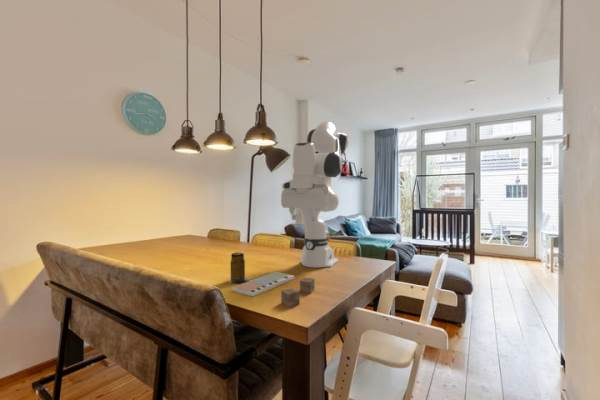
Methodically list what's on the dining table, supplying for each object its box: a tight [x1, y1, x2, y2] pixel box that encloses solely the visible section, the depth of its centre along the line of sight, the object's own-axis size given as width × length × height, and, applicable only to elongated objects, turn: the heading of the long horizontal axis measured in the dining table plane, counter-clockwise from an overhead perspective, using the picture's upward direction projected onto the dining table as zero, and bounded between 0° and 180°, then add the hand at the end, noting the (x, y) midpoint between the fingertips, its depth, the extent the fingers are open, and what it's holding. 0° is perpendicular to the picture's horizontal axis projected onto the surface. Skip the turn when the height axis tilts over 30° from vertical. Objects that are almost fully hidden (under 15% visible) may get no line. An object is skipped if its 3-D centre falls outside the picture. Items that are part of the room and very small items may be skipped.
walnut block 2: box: [299, 277, 316, 294], centre depth 111 cm, size 4×4×4 cm
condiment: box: [227, 252, 252, 285], centre depth 123 cm, size 7×8×12 cm
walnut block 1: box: [280, 287, 300, 308], centre depth 98 cm, size 4×4×4 cm
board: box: [231, 271, 295, 297], centre depth 119 cm, size 26×11×2 cm, turn 146°
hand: (304, 220), depth 110 cm, fingers open, 8 cm apart
